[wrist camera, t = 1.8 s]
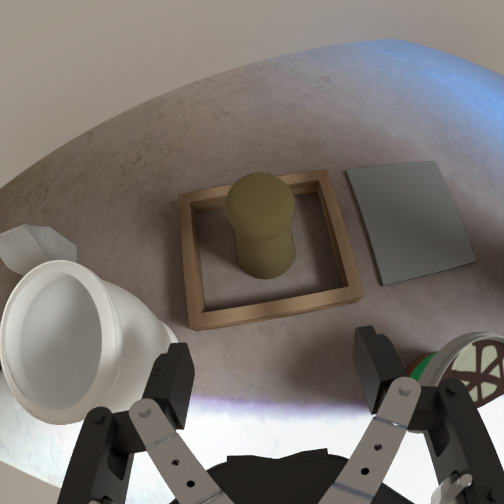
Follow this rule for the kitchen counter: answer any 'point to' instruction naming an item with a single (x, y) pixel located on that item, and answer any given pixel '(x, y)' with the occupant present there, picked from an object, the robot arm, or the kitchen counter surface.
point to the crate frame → (273, 309)
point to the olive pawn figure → (262, 224)
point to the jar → (77, 343)
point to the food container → (465, 366)
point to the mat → (410, 220)
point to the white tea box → (34, 247)
